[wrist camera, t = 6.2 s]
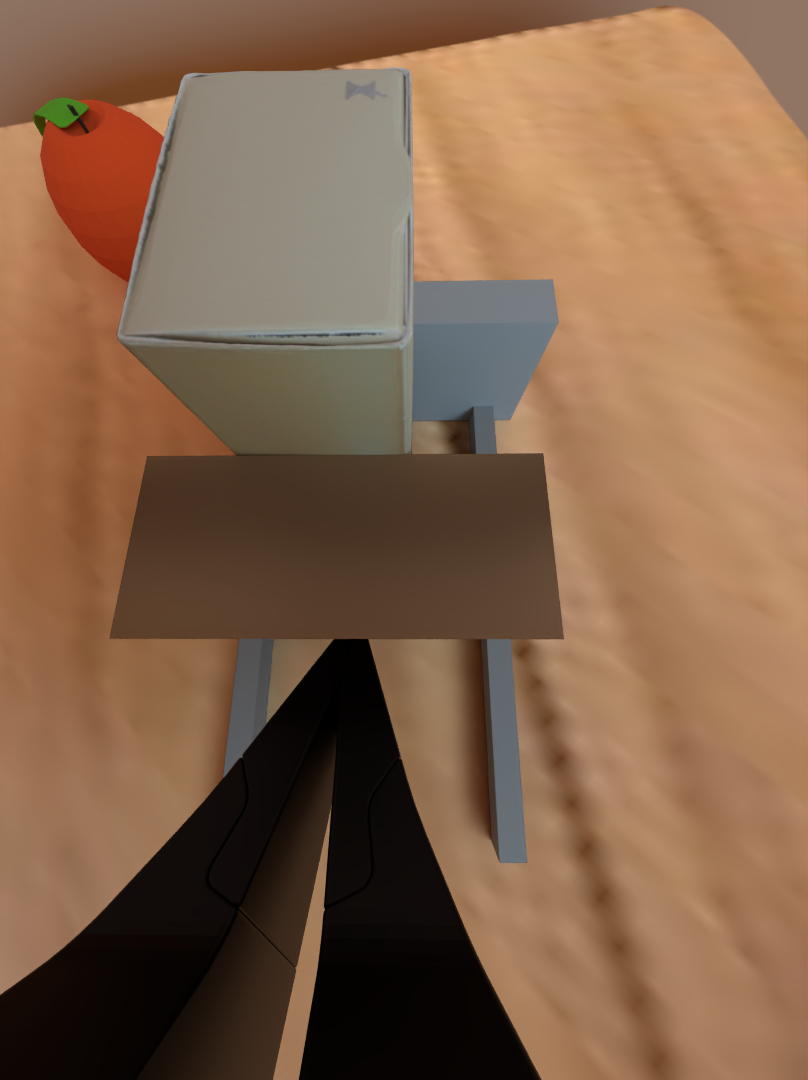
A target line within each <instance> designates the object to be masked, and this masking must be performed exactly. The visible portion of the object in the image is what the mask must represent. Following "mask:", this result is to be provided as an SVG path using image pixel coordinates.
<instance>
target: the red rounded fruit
mask: <svg viewBox="0 0 808 1080" xmlns="http://www.w3.org/2000/svg"><path fill="white" fill-rule="evenodd" d="M45 118H46V119H48V121H47V123H46V122H45ZM33 119H34V123H35V125H36V126H37V128H38V130H39V132H40V133H41V135H42V136H43V141H42V148H41V154H40V157H41V162H42V167H43V172H44V177H45V182H46V186H47V190H48V192H49V195H50V197H51V199H52V201H53V203H54V205H55V208H56V210H57V212H58V214H59V216H60V217H61V218H62V220H63V221H64V223H65V224H66V225H67V227H68V228H69V229H70V231H71V232H72V234H73V235H74V236H75V238H76V239H77V241H78V242H79V243H80V245H81V246H82V247H83V248H84V249H85V250H86V251H87V252H88V253H89V254H90V255H91V256H92V257H93V258H94V259H95V260H96V261H97V262H99V263H100V264H101V265H102V266H104V267H105V268H107V269H108V270H110V271H111V272H113V273H114V274H116V275H117V276H119V277H120V278H122V279H124V280H125V281H127V282H129V279H130V274H131V269H132V263H133V258H134V254H135V250H136V246H137V243H138V239H139V232H140V230H141V226H142V222H143V217H144V213H145V209H146V205H147V201H148V197H149V192H150V188H151V184H152V181H153V178H154V175H155V171H156V165H157V161H158V158H159V155H160V151H161V145H162V143H163V141H164V137H163V136H162V135H161V134H160V133H158V132H157V131H156V130H155V129H153V128H152V127H151V126H149V125H148V124H147V123H145V122H144V121H143V120H142V119H140V118H139V117H137V116H135V115H133V114H132V113H129V112H127V111H125V110H123V109H120V108H118V107H116V106H113V105H111V104H108V103H105V102H101V101H97V100H81V101H75V100H72V99H69V98H57V99H54V100H51V101H49V102H48V103H47V104H45V105H44V106H43V107H42V108H40V109H39V110H38V111H37V112H36V113H34V116H33Z"/></svg>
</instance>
